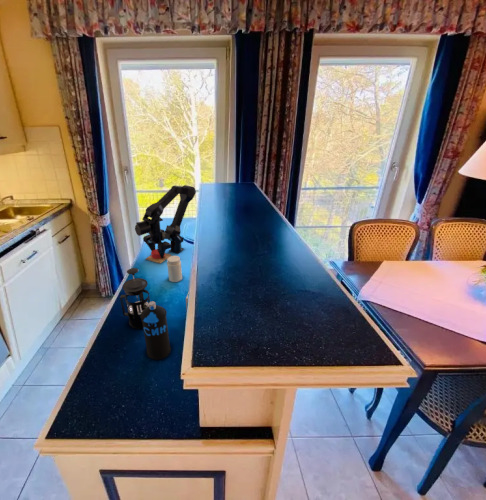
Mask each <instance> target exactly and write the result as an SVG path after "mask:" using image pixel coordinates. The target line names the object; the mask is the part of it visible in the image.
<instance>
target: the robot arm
mask: <svg viewBox="0 0 486 500" xmlns="http://www.w3.org/2000/svg"><path fill="white" fill-rule="evenodd" d="M196 193H197V191H196V188H195V186H191V185H187V184H184V185H172V186H171V188H170V189H169V190H168V191H167V192H166V193H165V194H164V195H163V196H162V197H161V198H159V200H157V202H155V203H151V204H150V205H149V206H147V207H146V208H145V213H144V215H143V217H142V221H138V222H136V223H135V227H134V231H135V233H136V235H137V236H138V237H139V236H140V237H141V236H143V235H144V236H143V239H142V240H143V242H144V243H145V244H146V246H147V247H148V248H149V250H150V252H152V251H153V250H155V249H157V250H158V252H159V255H160V257H161V258H163V257H164V253H166V250H168V253H169V252H170V253H174V254H180V253H181V252H183V250H185V249H184V248H183V247H182V243H184V239H185V238H184V237H183V236H181V233H182V232H181V231H182V230H181V225H182V222H183V219H184V217H185V214H186V212H187V209H188V206H189V203H190V202H191V201H192V200H193V199H194V198H195V196H196ZM178 195H179V198H180V200H179V202H178V205H177V207H176V211H175V214H174V217H173V219H172V222H171V223H170V225H168V224H167V225H166V228H165V229H161V222H162V221H164V219H163V218H162V215H163V213H164V210H165V209H166V207H168V205H169V204H170V203H171V202H172V201H173V200H174V199H175V198H176V197H177V196H178ZM146 234H147V235H146ZM169 241H170V242H169ZM156 245H157V248H156Z"/></svg>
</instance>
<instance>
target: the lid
mask: <svg viewBox="0 0 486 500" xmlns="http://www.w3.org/2000/svg"><path fill="white" fill-rule="evenodd" d="M157 249H158V248H155V250H153V251H150V256H152V258H154V259H160V258H161V257H160V255H159V252H158V250H157ZM165 253H166V252H165ZM165 253H164V256H165Z"/></svg>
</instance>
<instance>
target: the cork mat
mask: <svg viewBox="0 0 486 500" xmlns="http://www.w3.org/2000/svg"><path fill="white" fill-rule="evenodd" d="M170 256H172V254H170V253H166V252H165V256H164V257H163V258H160V259H154V258H152V256H151V255H149V256H147V257H146V258H145V260H146V261H149V262H153V263H156V264H162V263H163V262H165V261H167V259H168V257H170Z"/></svg>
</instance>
